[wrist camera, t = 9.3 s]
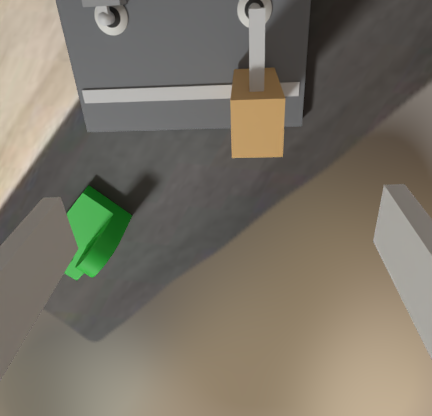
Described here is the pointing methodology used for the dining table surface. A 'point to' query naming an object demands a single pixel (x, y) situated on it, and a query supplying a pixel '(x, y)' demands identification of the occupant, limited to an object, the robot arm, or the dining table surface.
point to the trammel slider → (257, 99)
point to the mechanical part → (95, 232)
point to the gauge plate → (177, 59)
